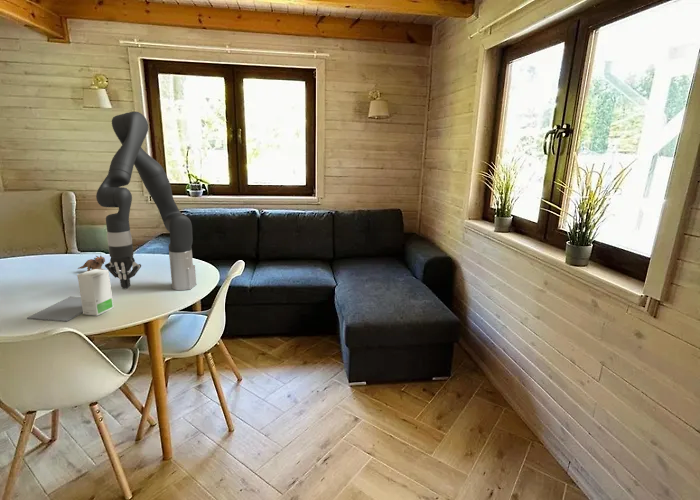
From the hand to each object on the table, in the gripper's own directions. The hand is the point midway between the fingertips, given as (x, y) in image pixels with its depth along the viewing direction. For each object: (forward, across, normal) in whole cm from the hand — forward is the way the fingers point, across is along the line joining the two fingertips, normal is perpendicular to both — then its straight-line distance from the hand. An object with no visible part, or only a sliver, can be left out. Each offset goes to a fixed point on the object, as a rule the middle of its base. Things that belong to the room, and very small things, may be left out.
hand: (126, 288), depth 142 cm
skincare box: (+10, +12, 0) cm, 16 cm away
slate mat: (+10, +24, 0) cm, 26 cm away
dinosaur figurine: (+10, +44, -40) cm, 60 cm away
